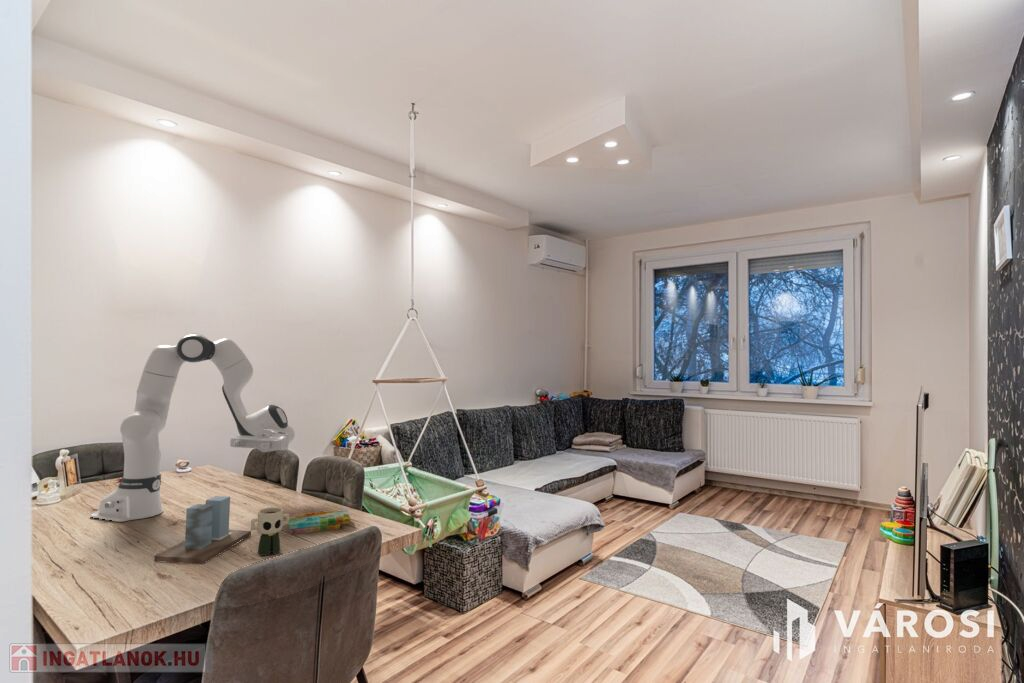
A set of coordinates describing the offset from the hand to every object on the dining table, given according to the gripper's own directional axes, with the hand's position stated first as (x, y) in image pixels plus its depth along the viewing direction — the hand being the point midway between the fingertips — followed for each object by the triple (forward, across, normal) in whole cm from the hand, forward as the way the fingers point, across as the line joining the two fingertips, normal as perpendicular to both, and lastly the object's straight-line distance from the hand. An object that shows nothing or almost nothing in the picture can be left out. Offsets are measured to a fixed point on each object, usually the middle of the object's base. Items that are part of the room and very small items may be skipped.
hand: (247, 445), depth 189 cm
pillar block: (+21, +4, +25) cm, 33 cm away
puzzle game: (+4, +31, +27) cm, 41 cm away
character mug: (+29, +26, +27) cm, 48 cm away
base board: (+27, +5, +27) cm, 39 cm away
